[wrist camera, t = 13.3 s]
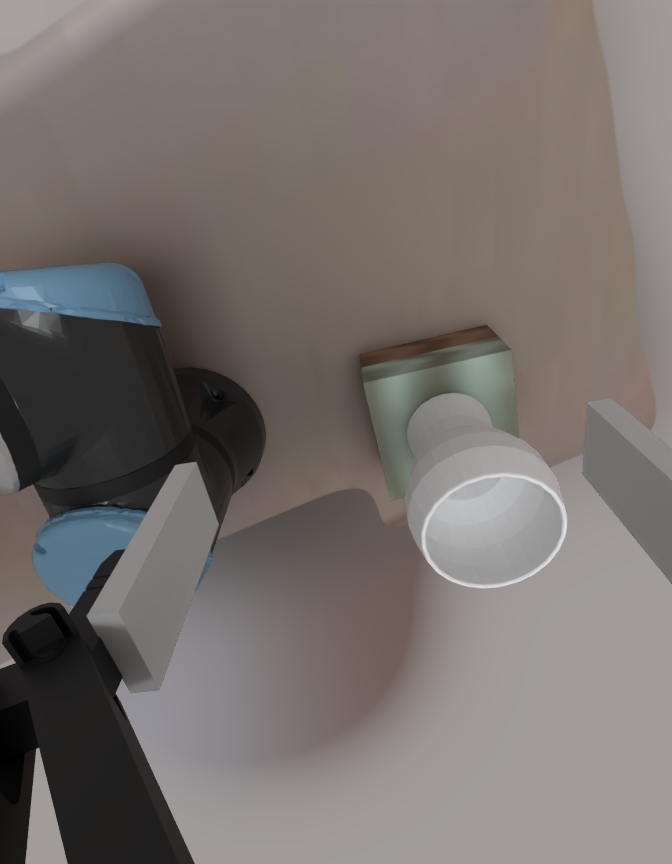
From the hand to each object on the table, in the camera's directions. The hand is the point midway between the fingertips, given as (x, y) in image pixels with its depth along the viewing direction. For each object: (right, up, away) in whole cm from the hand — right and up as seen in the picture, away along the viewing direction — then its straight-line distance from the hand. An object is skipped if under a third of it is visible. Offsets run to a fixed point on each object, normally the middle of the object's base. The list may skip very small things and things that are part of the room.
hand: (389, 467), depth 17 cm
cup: (+9, +1, +29) cm, 30 cm away
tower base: (+9, +5, +36) cm, 37 cm away
